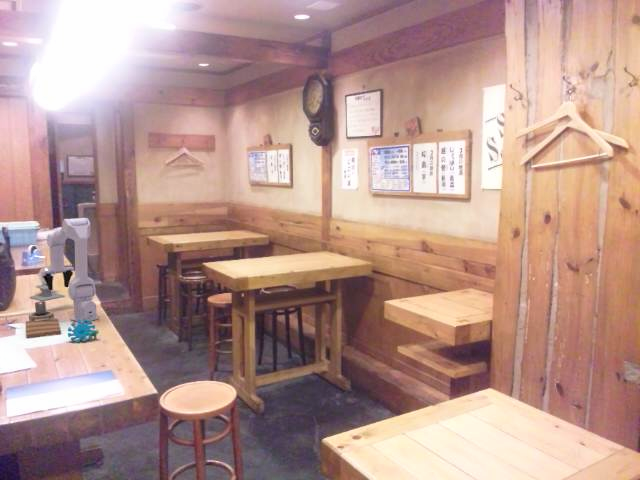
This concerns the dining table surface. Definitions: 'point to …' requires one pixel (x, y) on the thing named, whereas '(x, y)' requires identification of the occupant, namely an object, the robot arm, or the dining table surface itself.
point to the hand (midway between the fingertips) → (58, 288)
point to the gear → (82, 331)
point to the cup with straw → (44, 270)
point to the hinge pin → (40, 308)
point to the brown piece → (42, 325)
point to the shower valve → (46, 294)
